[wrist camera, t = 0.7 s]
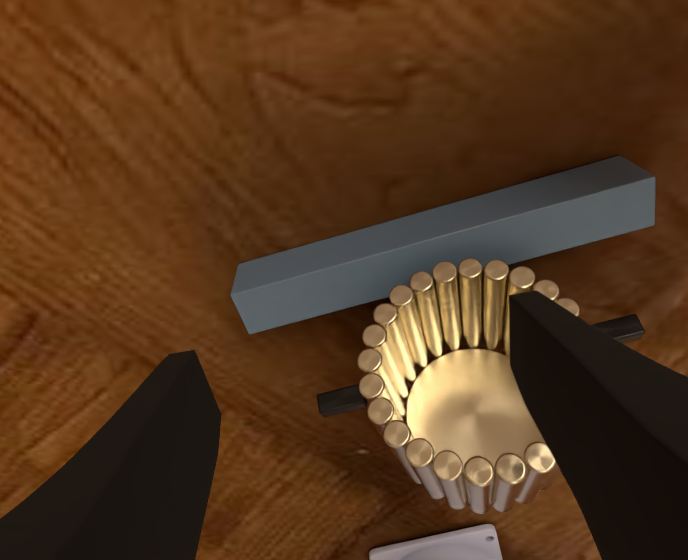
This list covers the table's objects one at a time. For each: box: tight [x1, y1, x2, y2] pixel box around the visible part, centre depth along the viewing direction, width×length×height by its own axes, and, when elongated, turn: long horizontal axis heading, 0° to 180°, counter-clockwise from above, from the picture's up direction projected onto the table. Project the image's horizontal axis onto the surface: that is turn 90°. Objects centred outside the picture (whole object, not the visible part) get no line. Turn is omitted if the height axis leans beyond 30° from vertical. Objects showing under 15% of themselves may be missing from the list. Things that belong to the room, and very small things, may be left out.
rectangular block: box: [230, 156, 656, 334], centre depth 21 cm, size 2×16×2 cm, turn 106°
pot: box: [317, 258, 645, 514], centre depth 20 cm, size 10×11×10 cm
